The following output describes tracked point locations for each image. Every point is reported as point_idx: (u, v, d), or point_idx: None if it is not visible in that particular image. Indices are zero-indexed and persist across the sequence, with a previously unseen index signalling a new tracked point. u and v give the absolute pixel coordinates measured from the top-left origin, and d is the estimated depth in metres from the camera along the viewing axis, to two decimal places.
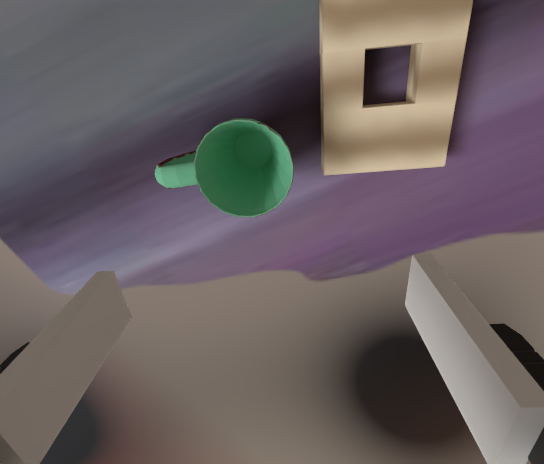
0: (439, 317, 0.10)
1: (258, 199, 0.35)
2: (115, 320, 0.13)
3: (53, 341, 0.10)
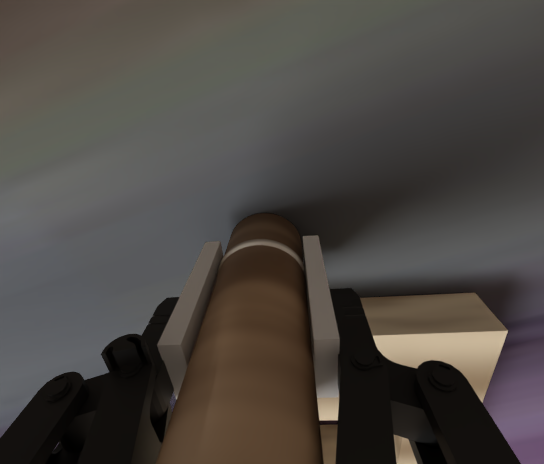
0: None
1: None
2: None
3: (199, 293, 0.12)
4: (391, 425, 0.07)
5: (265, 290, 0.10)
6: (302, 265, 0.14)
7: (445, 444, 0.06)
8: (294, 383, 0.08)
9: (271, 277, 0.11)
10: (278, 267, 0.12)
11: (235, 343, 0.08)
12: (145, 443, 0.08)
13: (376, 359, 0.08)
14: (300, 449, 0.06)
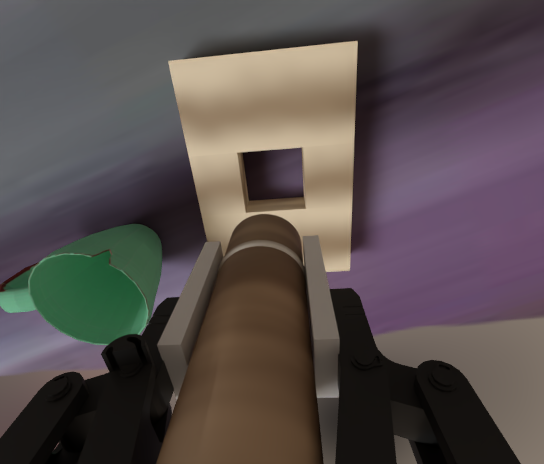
0: None
1: (131, 313, 0.30)
2: None
3: (199, 293, 0.12)
4: (391, 425, 0.07)
5: (264, 291, 0.10)
6: (302, 266, 0.14)
7: (445, 444, 0.06)
8: (294, 385, 0.08)
9: (271, 278, 0.11)
10: (278, 268, 0.12)
11: (235, 344, 0.08)
12: (145, 443, 0.08)
13: (376, 359, 0.08)
14: (300, 452, 0.06)
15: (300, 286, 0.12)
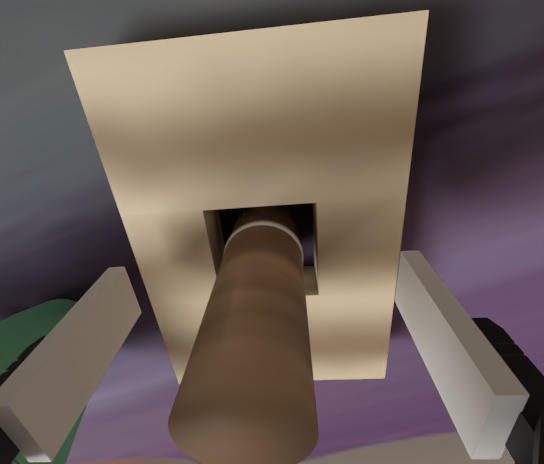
0: (425, 311, 0.11)
1: None
2: (126, 315, 0.14)
3: (69, 334, 0.10)
4: None
5: (266, 259, 0.12)
6: (299, 243, 0.15)
7: None
8: (290, 326, 0.09)
9: (272, 250, 0.13)
10: (278, 242, 0.14)
11: (242, 296, 0.10)
12: None
13: None
14: (295, 369, 0.08)
15: (297, 258, 0.14)
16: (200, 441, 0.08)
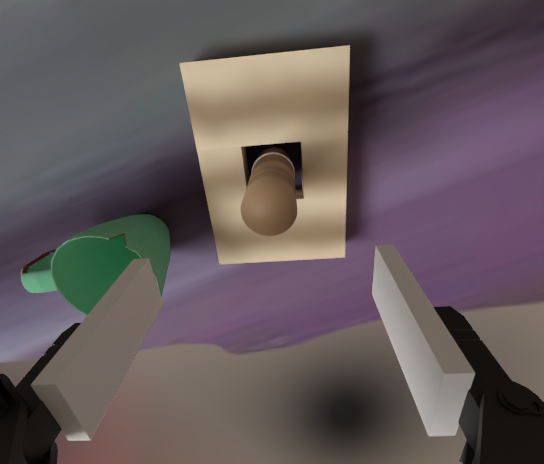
0: (394, 301, 0.11)
1: None
2: (150, 305, 0.14)
3: (103, 320, 0.11)
4: None
5: (276, 162, 0.25)
6: (292, 165, 0.29)
7: None
8: (287, 179, 0.23)
9: (278, 160, 0.26)
10: (281, 159, 0.27)
11: (266, 170, 0.23)
12: None
13: (533, 405, 0.07)
14: (288, 187, 0.21)
15: (291, 168, 0.27)
16: (252, 216, 0.22)
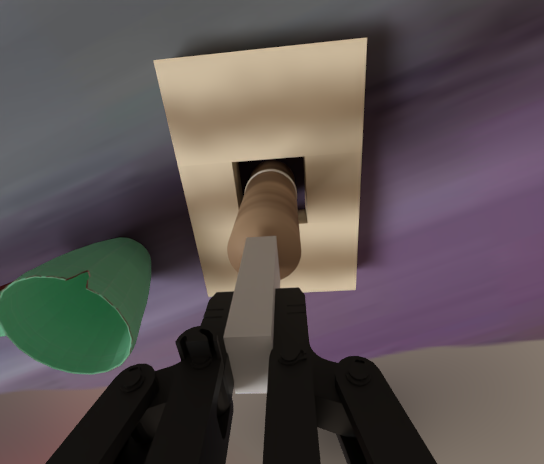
0: None
1: (116, 336, 0.27)
2: None
3: None
4: (314, 413, 0.07)
5: (273, 184, 0.20)
6: (294, 184, 0.24)
7: (361, 438, 0.07)
8: (288, 209, 0.18)
9: (277, 181, 0.21)
10: (280, 179, 0.22)
11: (261, 196, 0.18)
12: (211, 440, 0.07)
13: (301, 353, 0.09)
14: (289, 221, 0.16)
15: (292, 189, 0.22)
16: None
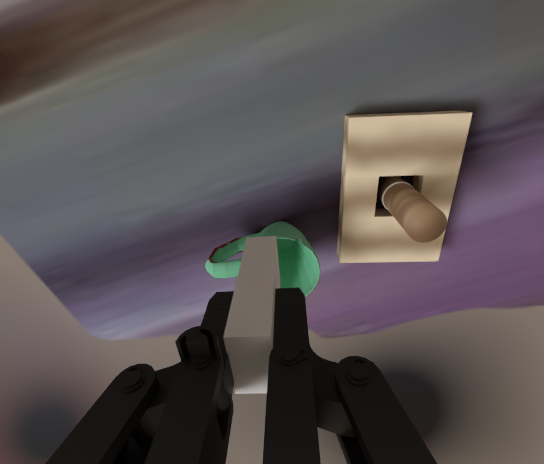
0: None
1: (286, 284, 0.42)
2: None
3: None
4: (314, 413, 0.07)
5: (414, 190, 0.36)
6: None
7: (361, 438, 0.07)
8: (433, 204, 0.33)
9: (413, 189, 0.37)
10: (412, 188, 0.37)
11: (416, 197, 0.34)
12: (211, 440, 0.07)
13: (301, 353, 0.09)
14: None
15: None
16: (414, 228, 0.32)
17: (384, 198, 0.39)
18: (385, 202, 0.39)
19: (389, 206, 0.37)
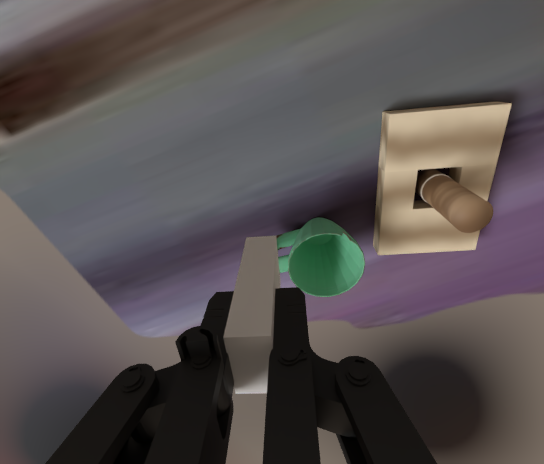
0: None
1: (329, 278, 0.44)
2: None
3: None
4: (314, 413, 0.07)
5: (455, 182, 0.37)
6: None
7: (361, 438, 0.07)
8: None
9: (453, 181, 0.38)
10: None
11: (459, 189, 0.35)
12: (211, 440, 0.07)
13: (301, 353, 0.09)
14: None
15: None
16: (461, 219, 0.33)
17: (423, 191, 0.40)
18: (424, 194, 0.40)
19: (430, 198, 0.38)
